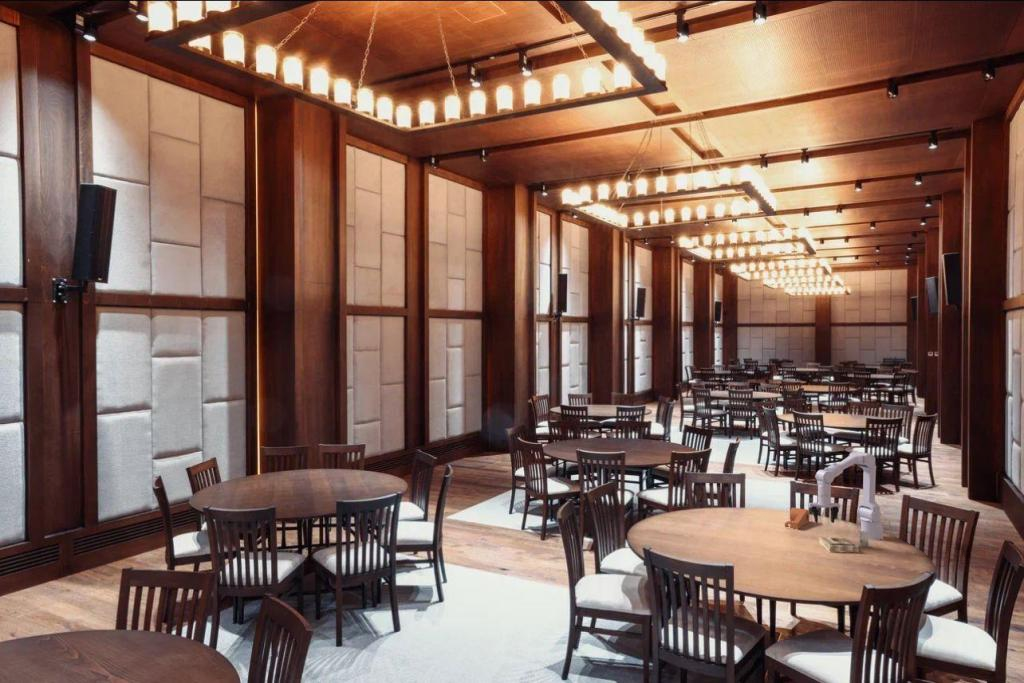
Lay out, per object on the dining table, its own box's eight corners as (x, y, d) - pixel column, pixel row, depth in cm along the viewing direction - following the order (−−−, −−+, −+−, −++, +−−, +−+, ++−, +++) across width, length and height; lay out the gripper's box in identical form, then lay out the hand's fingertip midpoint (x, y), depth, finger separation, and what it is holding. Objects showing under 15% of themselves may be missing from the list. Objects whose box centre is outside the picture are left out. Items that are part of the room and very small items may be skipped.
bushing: (866, 545, 335) (866, 531, 335) (869, 548, 331) (869, 533, 331) (857, 545, 335) (857, 531, 335) (861, 547, 331) (861, 533, 331)
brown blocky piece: (794, 520, 382) (794, 506, 382) (809, 522, 377) (809, 508, 377) (782, 528, 367) (782, 513, 367) (797, 530, 362) (797, 515, 362)
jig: (846, 543, 338) (846, 536, 338) (858, 552, 324) (858, 545, 324) (819, 543, 339) (819, 536, 339) (829, 552, 325) (829, 544, 325)
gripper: (836, 493, 342) (836, 520, 342) (806, 492, 343) (806, 519, 343) (842, 496, 335) (842, 524, 335) (811, 495, 336) (811, 523, 336)
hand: (824, 522), depth 339 cm, fingers open, 7 cm apart
